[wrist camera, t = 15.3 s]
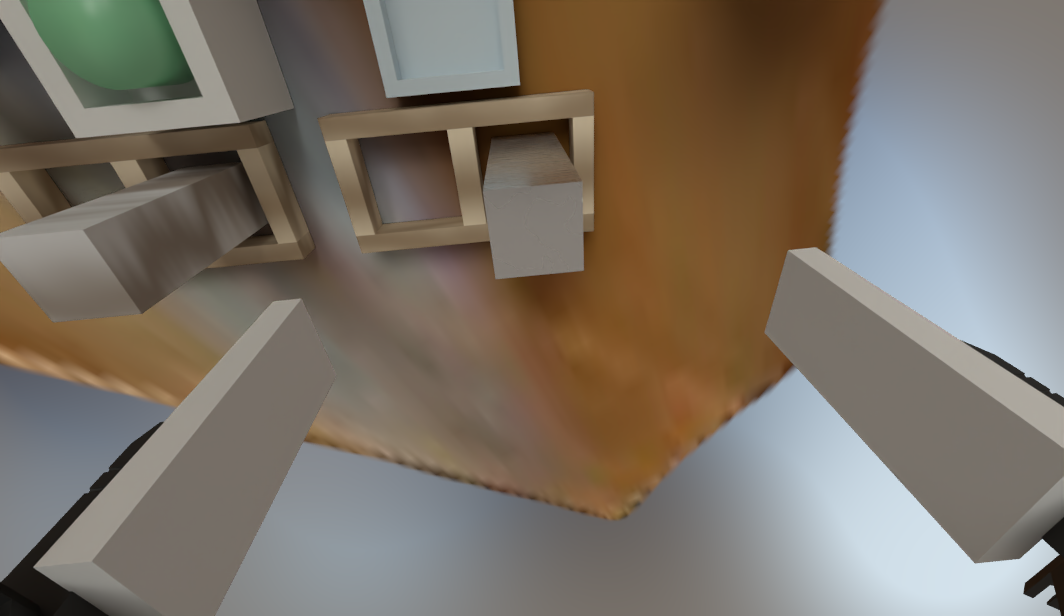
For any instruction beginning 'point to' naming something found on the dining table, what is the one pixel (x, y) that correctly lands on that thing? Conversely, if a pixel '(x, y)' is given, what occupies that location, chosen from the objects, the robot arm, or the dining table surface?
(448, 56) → the tote
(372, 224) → the pallet
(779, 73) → the dining table surface
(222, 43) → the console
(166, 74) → the button
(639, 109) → the dining table surface
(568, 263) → the block
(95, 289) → the pallet
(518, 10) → the dining table surface
